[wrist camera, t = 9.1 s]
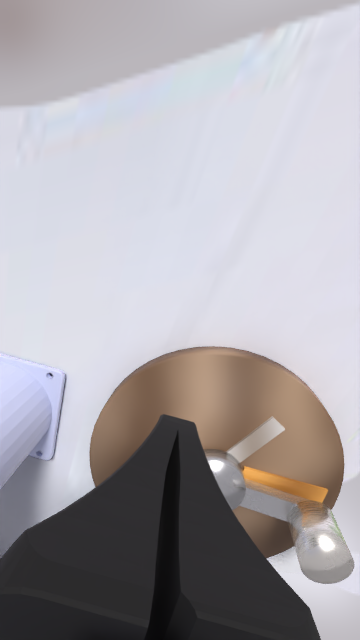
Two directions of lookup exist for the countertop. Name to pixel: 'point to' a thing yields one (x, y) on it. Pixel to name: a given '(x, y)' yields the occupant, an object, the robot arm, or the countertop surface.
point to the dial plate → (230, 426)
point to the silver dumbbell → (288, 519)
